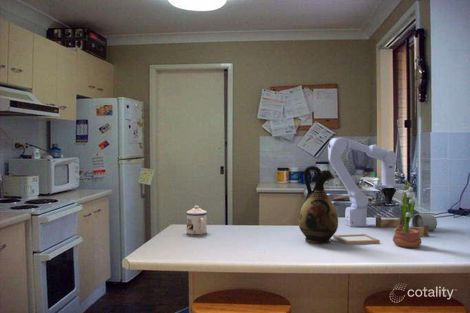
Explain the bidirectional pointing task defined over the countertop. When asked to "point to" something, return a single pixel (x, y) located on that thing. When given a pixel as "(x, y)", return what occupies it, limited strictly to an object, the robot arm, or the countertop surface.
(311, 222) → the ceramic jug
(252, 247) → the countertop surface
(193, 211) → the teacup with lid
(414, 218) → the ceramic mug
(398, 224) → the cedar frame
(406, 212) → the potted flower
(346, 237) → the frame lid
